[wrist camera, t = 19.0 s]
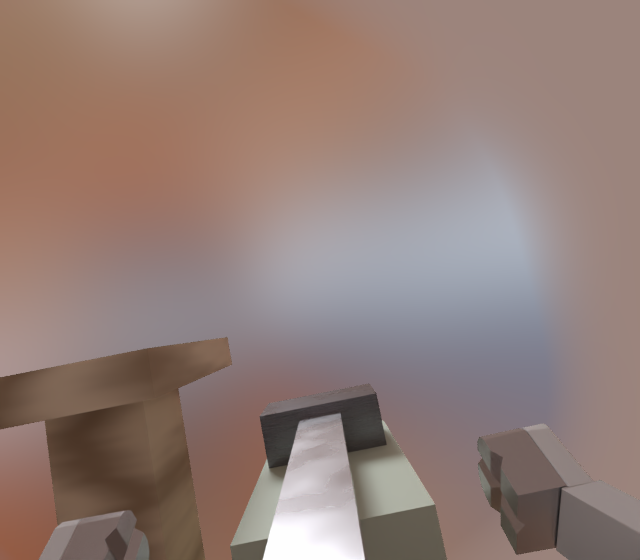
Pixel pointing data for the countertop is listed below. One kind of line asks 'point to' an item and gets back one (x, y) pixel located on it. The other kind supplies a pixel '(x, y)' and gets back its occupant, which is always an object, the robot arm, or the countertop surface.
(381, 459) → the pale green box
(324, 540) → the hammer
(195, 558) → the stand
